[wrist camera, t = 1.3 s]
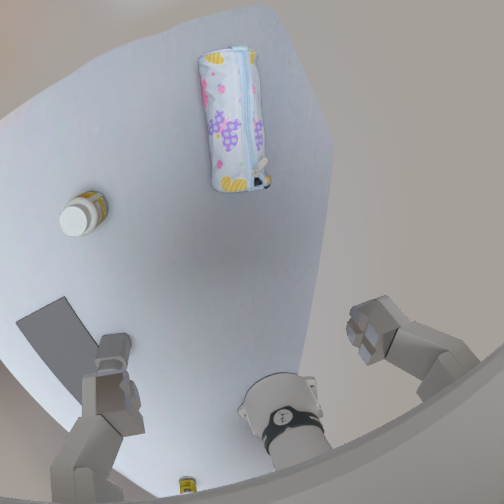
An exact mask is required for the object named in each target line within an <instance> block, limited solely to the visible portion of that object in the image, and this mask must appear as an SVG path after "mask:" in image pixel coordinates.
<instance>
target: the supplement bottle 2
mask: <svg viewBox="0 0 504 504" xmlns="http://www.w3.org/2000/svg"><path fill="white" fill-rule="evenodd" d="M193 492H197V489H196V482H195V479H194V478H192V477H182V478H181V479H180V493H181V495H182V494H188V493H193Z"/></svg>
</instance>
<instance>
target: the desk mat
mask: <svg viewBox="0 0 504 504" xmlns="http://www.w3.org/2000/svg"><path fill="white" fill-rule="evenodd" d="M16 324H17V326H18V327H19V329H20V330H21V332H22V333H23V334H24V336H25V337H26V339H27V340H28V341H29V343H30V344H31V346H32V347H33V348H34V350H35V351H36V352H37V353H38V355H39V356H40V357H41V359H42V360H43V361H44V362H45V364H46V365H47V366H48V367H49V369H50V370H51V371H52V372H53V373H54V375H55V376H56V377H57V378H58V379H59V381H60V382H61V383H62V384H63V385H64V386H65V387H66V389H67V390H68V391H69V392H70V393H71V394H72V395H73V396H74V397H75V399H76V400H77V401H78V402H79V403H80V404H81V405H82V379H83V376H84V375H87V374H94V373H97V371H98V368H97V366H96V364H95V358H96V355H97V351H98V348H99V346H98V345H97V343H96V342H95V341H94V339H93V338H92V336H91V335H90V334H89V332H88V331H87V329H86V328H85V327H84V325H83V324H82V322H81V321H80V319H79V318H78V316H77V315H76V313H75V312H74V310H73V309H72V307H71V306H70V304H69V303H68V301H67V299H66V298H65V296H64V297H62V298H60V299H59V300H57V301H55V302H53V303H51V304H49V305H47V306H45V307H43V308H41V309H39V310H38V311H36V312H34V313H32V314H30V315H28V316H26V317H25V318H23V319H21V320H19V321H17V322H16Z"/></svg>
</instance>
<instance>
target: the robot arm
mask: <svg viewBox="0 0 504 504" xmlns="http://www.w3.org/2000/svg"><path fill="white" fill-rule="evenodd" d="M350 316H351V318H350V320H349V321H348V322H347V326H346V330H347V336H348V338H349V340H350V342H351V343H352V345H354V346H356V347H358V348H359V355H360V356H361V358H362V359H363V361H364V362H365V364H366V365H367V366H369V365H371V364H373V363H376V362H378V361H380V360H383V359H385V358H386V359H385V360H387V361H388V362H390V363H392V364H394V365H395V366H397V367H399V368H401V369H402V370H404V371H406V372H408V373H409V374H411V375H413V376H415V377H416V378H418V379H420V380H422V381H423V382H422V383H421V384H420V386H419V387H418V389H417V394H418V396H419V397H420V399H421V400H422V402H423V403H421V404H420V405H418V406H416V407H415V408H413V409H411V410H410V411H408V412H406V413H405V414H403V415H401V416H399V417H398V418H396V419H394V420H392V421H390V422H389V423H387V424H385V425H383V426H381V427H379V428H377V429H375V430H373V431H372V432H369V433H367V434H365V435H363V436H362V437H359V438H357V439H355V440H353V441H351V442H349V443H347V444H344V445H342V446H340V447H338V448H335V449H332V447H331V446H330V444H329V443H328V441H327V439H326V437H325V435H324V429H323V426H322V424H321V422H320V420H319V419H318V418H321V417H323V413H322V410H321V407H320V405H319V404H318V402H317V387H316V380H315V378H314V377H301V376H298V375H295V374H291V373H281V374H275V375H271V376H269V377H266V378H264V379H262V380H260V381H259V382H257V383H256V384H255V385H254V386H253V387H252V388H251V389H250V390H249V391H248V393H247V395H246V397H245V401H244V403H243V404H242V405H241V406H240V408H239V409H238V411H237V412H238V414H239V416H241V417H242V418H243V419H244V420H246V421H247V422H248V423H249V425H250V427H251V430H252V432H253V434H254V435H256V436H257V437H259V438H261V439H262V440H263V445H264V448H265V449H266V451H267V453H268V454H269V455H270V456H271V459H272V462H273V465H274V468H275V470H276V471H275V472H272V473H268V474H265V475H262V476H259V477H255V478H252V479H248V480H245V481H241V482H237V483H234V484H230V485H226V486H221V487H217V488H213V489H208V490H203V491H199V492H193V493H188V494H182V495H176V496H170V497H163V498H156V499H148V500H138V501H127V502H125V500H124V495H123V490H122V488H121V487H120V486H118V485H116V484H114V483H112V482H111V481H109V480H108V476H109V474H110V471H111V469H112V466H113V464H114V461H115V458H116V456H117V453H118V451H119V448H120V446H121V443H122V441H123V437H126V436H132V435H138V434H143V433H145V429H144V423H143V417H142V415H141V414H140V412H139V411H138V410H139V408H140V407H141V402H140V397H139V393H138V390H137V387H136V385H135V383H134V382H133V381H132V380H129V374H128V372H127V371H126V369H120V370H114V371H107V372H100V373H94V374H87V375H84V376H83V379H82V417H78V419H77V421H76V423H75V424H74V426H73V428H72V429H71V431H70V433H69V435H68V436H67V438H66V440H65V442H64V444H63V445H62V447H61V449H60V450H59V452H58V454H57V456H56V457H55V459H54V461H53V463H52V465H51V467H50V475H51V491H52V501H53V502H40V501H29V500H19V499H13V498H6V497H0V504H504V343H503V344H502V345H501V346H500V347H499V348H497V349H496V350H495V351H494V352H493V353H491V354H490V355H489V356H488V357H486V358H485V359H484V360H483V361H481V362H480V361H479V359H478V358H477V357H476V356H475V355H474V354H473V352H472V351H471V350H470V349H469V348H468V346H467V345H466V344H465V343H464V342H463V341H462V340H460V339H458V338H455V337H453V336H450V335H448V334H445V333H443V332H440V331H438V330H435V329H433V328H431V327H428V326H426V325H423V324H421V323H418V322H416V321H413V322H411V321H410V320H409V319H408V317H406V315H405V314H404V313H403V312H402V311H401V310H400V309H399V307H398V306H397V305H396V304H395V303H394V302H393V301H392V300H391V299H390V298H389V296H387V295H384V296H381V297H378V298H376V299H372V300H369V301H367V302H364V303H361V304H359V305H356V306H353V307H352V308H351V309H350Z"/></svg>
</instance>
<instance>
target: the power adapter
mask: <svg viewBox="0 0 504 504" xmlns="http://www.w3.org/2000/svg"><path fill="white" fill-rule="evenodd" d="M130 347H131V341H130V338H129V335H128V334H127V333H119V334H111V335H104V336H102V339H101V342H100V345H99V348H98V351H97V355H96V358H95V364H96V366H97V368H98V371H97V373H100V372H107V371H114V370H120V369H127V365H128V359H129V353H130Z"/></svg>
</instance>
